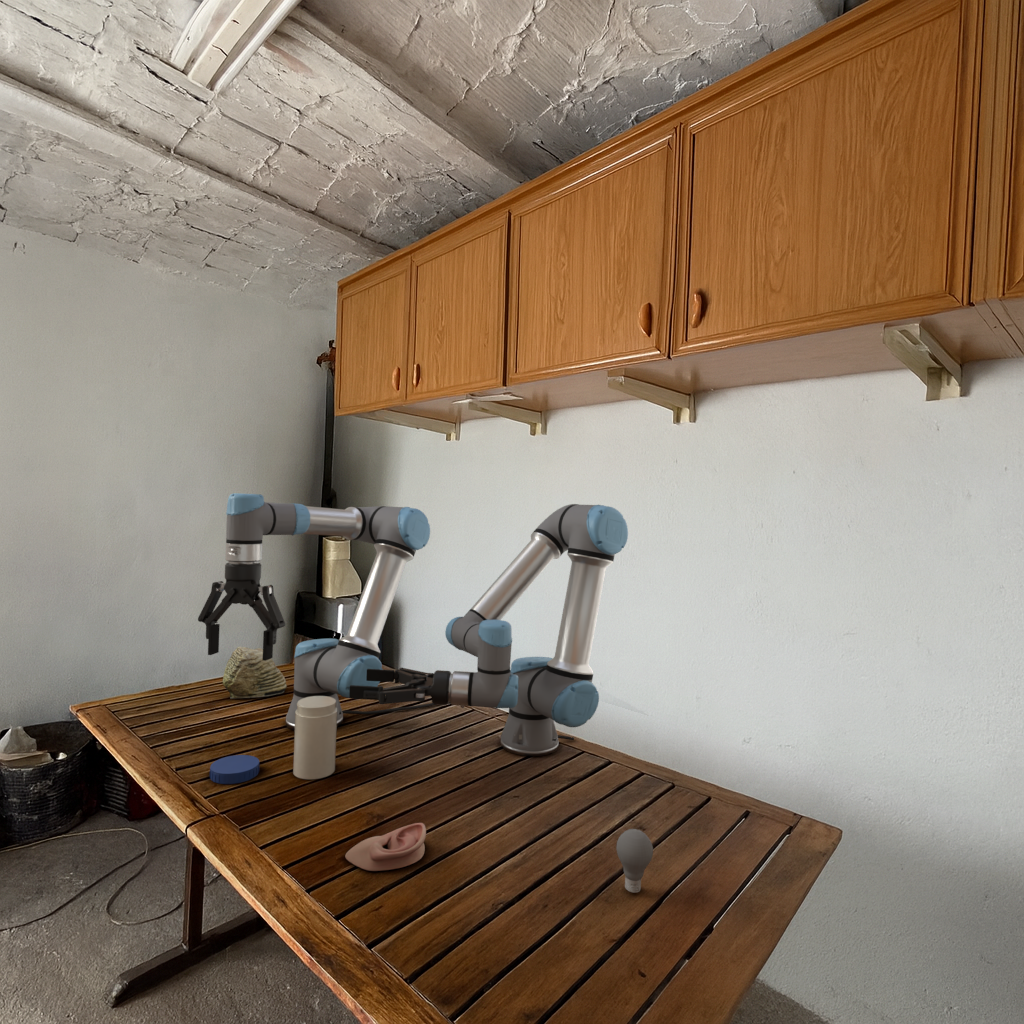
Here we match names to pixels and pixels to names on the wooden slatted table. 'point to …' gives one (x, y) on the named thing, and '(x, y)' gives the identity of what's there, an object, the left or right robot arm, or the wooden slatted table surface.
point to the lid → (234, 769)
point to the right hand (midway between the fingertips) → (358, 682)
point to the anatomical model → (390, 849)
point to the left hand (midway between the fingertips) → (240, 656)
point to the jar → (315, 737)
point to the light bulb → (634, 857)
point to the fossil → (252, 675)
